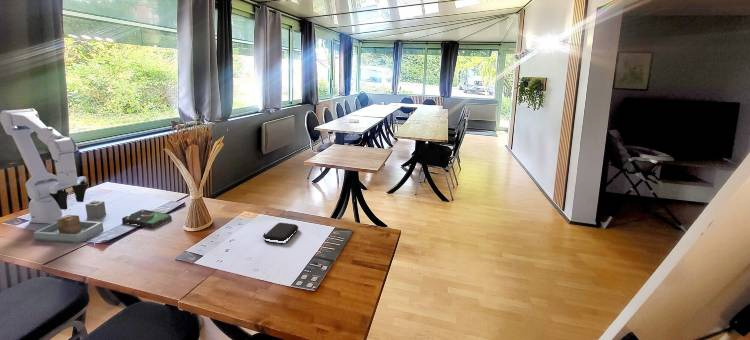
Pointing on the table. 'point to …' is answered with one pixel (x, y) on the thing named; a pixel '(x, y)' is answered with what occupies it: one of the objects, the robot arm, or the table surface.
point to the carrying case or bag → (281, 231)
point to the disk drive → (147, 218)
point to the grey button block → (95, 209)
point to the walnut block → (69, 224)
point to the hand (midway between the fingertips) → (72, 205)
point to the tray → (53, 234)
